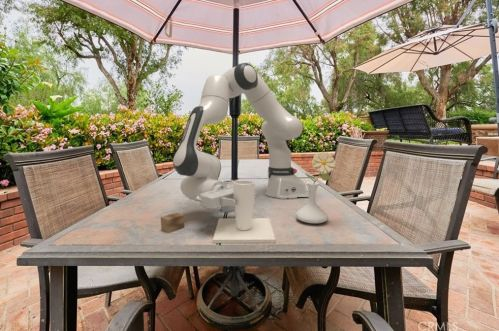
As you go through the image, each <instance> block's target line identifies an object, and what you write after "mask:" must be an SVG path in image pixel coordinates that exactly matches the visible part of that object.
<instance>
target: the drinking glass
mask: <svg viewBox="0 0 499 331" xmlns="http://www.w3.org/2000/svg"><path fill="white" fill-rule="evenodd" d="M234 181H235V182H234V184H233V197H234V199H237V205H235V206H234V208H235V211H234V216H235V217H234V218H235V220H236V228H237V229H239V230H249V229H251V228H252V219H253V218H254V217H253V216H254V214H253V213H254V206H255V199H254V197H255V190H256V189H255V188H256V186H255V181H253V180H250V179H249V180H247V179H246V180H245V179H244V180H243V179H241V180H234Z"/></svg>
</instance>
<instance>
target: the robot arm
mask: <svg viewBox="0 0 499 331" xmlns="http://www.w3.org/2000/svg"><path fill="white" fill-rule="evenodd" d="M242 94H244V96H245V97H246V99H247V101H248V103H249V104H250V105H251V107H252V108H253V110H254V111H255V113H256V115H258V117H259V118H261V119H263V120H264V121H263V122H262V125H261V133H262V135H263V136H264V138H265V140H266V143H267V148H268V162H269V164H268V169H267V178H268V182H267V185H266V186H267V187H266V190H265V195H266V196H268V197H272V198H277V199H280V200H286V199H287V198H289V199H298V198H297V197H308V196H309V190H307V187H306V186H307V185H306V182H304V181H303V180H302V179H301V178H300V177H298V176H297V175H296V174H297V173H298V169H296V168H293V167H292V151H291V149H290V148H289V147H288V144H287V140H289V141H290V140H294V139H297V138H299V137H300V136H301V135H302V133H303V127H304V126H303V123H302V120H300V119H299V118H298V117H296V116H293V115H292V114H291V113H290V112H289V111H287V109H286V108H284V106H282V104H280V103H279V101H278V100H277V98H276V97H275V95H274V94H273V92H272V90H271V89H270V88H269V86H268V84H267V83H266V82H265V81H264V79H263V78H262V77H261V76H260V75H259V74H258V73H257V70H256V69H255V67H254V66H253V65H252V64H250V63H248V62H242V63H238V64H237V65H235V66H234V67H231V68H229V69H228V70H226V71H225V72H224V73H223V74H212V75H210V76H208V77H207V78H206V80H205V83H204V84H203V89H202V92H201V97H200V102H199V104H198V106H195V107H193V109H192V110H191V112H190V114H189V116H188V118H187V121H186V123H185V128H184V131H183V134H182V136H181V140H180V143H179V145H178V147H177V149H176V151H175V153H174V155H173V157H172V166H173V168H174V170H175V172H176V173H177V174H178V175H179V176H186V177H185V178H182V179H181V181H180V182H181V183H180V191H181V193H182V194H183V195H184V197H186V198H188V199H189V200H191V201H195V202H199V203H200V205H201V206H203V207H205V208H208V209H217V208H219V207H220V208H221V206H224V205H232V206H235V205H237V199H234V197H233V184H234V182H235V181H236V180H219V177H220V174H221V172H222V171H221V170H222V165H221V161H220V159H219V157H218V156H215V155H213V154H210V153H207V152H204V151H201V150H199V149H198V148H197V143H198V140H199V136H200V134H201V131H202V129H203V126H204V125H216V124H219V123H221V122H222V121H224V120H225V119H226V117H227V116H228V112H229V105H230V104H229V103H230V100H231V99H233V98H236V97H238V96H241V95H242ZM308 198H309V197H308ZM255 199H257V193H255V197H254V200H255Z"/></svg>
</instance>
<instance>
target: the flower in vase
mask: <svg viewBox="0 0 499 331" xmlns="http://www.w3.org/2000/svg"><path fill="white" fill-rule="evenodd" d="M336 163H337V162H336V160H335V158H334V157H333V155H331V153H328V152H324V151H321V152H318V153H315V154H314V155H313V158H312V161H311V166H312V167H313V169H314V171H316V172H319V175H318V176H317V178H315V177H314V176H313V175H310V174H308V173H307V172H306V173H305V174H306V176H307V177H309V178H310V179H314V181H307V182H305V186H307V189H308V192H309V197H308V203H306V204H305V205H303V207H301V208H300V209H298V210H297V211H296V213H295V217H296V219H297V220H299V221H300V222H304V223H307V224H321V223H325V222H326V221H327V220H328V219H329V216H328V214H327V213H326V212H325V211H324V210H323V209H322V208H321V207H320V206H319V205H318V204H317V202H316V198H317V197H316V195H317V190H318V187H320V185H321V183H320V182H317V181H318V179H319V178H320V179H321V180H323V181H330V180H333V178H332V176H330V174H329V173H331V172H333V171H334V170H335V167H336Z"/></svg>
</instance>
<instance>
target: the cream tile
mask: <svg viewBox="0 0 499 331" xmlns="http://www.w3.org/2000/svg"><path fill="white" fill-rule="evenodd" d="M265 243H266V244H275V243H276V237H275V233H274V229H273V226H272V223H271V219H270V218H269V217H268V218H267V217H266V218H265V217H264V218H262V217H261V218H260V217H259V218H257V217H256V218H255V217H253V219H252V228H251V229H249V230H239V229H237V228H236V220H235V217H234V218H226V217H225V218H223V217H221V218H218V221H217V224H216V228H215V231H214V234H213V238H212V244H265Z"/></svg>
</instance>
